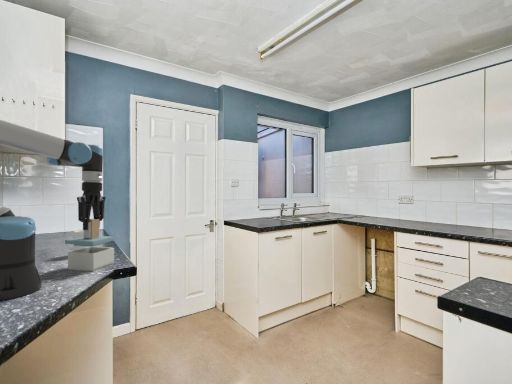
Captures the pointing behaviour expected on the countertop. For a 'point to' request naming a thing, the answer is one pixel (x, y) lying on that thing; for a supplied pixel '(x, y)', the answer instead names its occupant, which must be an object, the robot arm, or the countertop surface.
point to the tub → (90, 258)
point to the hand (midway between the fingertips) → (91, 236)
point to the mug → (76, 235)
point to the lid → (94, 238)
